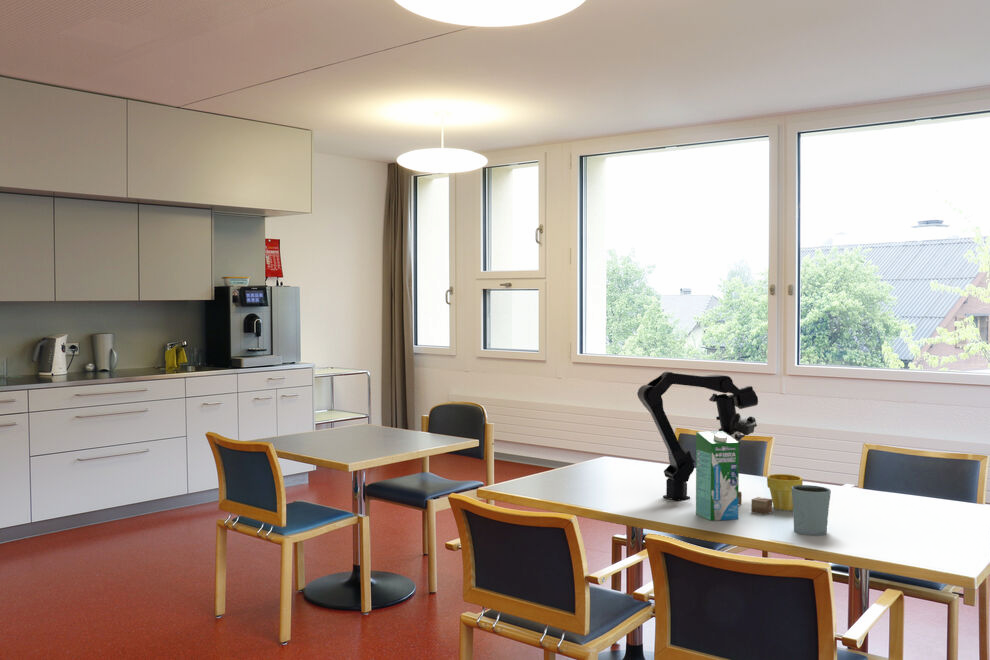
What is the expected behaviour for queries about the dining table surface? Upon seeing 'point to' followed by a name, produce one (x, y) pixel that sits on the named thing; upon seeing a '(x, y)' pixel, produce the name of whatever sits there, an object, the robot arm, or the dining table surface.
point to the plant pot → (782, 489)
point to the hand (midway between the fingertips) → (735, 458)
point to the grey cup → (810, 509)
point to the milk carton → (717, 475)
